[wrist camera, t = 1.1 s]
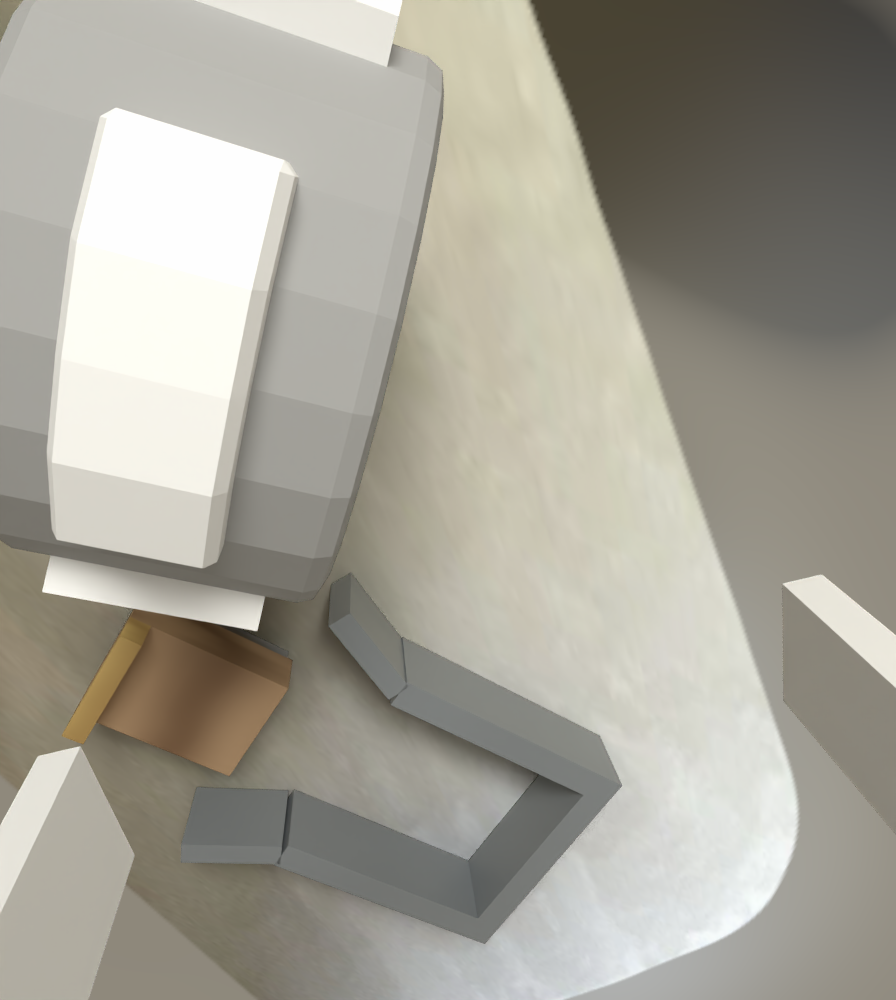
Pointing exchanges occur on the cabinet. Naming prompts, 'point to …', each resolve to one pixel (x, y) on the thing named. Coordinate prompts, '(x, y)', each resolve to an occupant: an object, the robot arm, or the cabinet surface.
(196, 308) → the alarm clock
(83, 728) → the tan block yellow end
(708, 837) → the cabinet surface
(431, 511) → the cabinet surface
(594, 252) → the cabinet surface
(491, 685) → the bay
